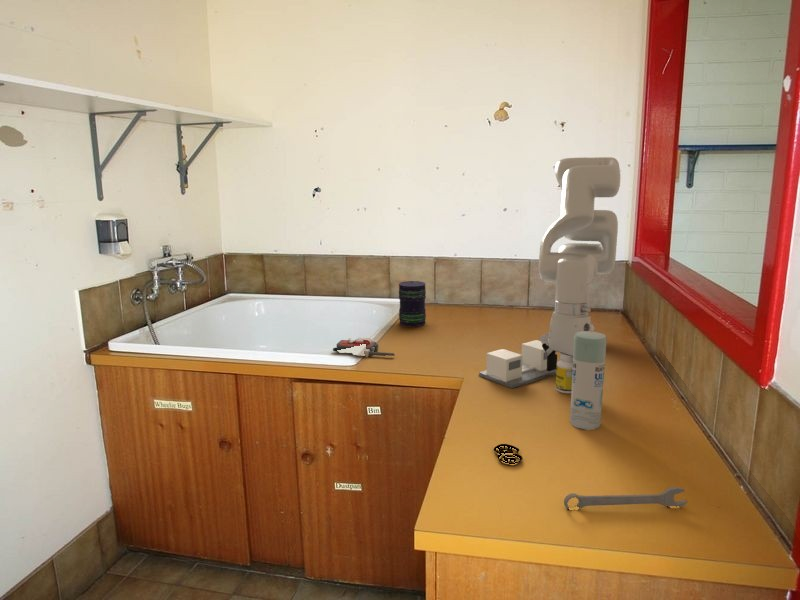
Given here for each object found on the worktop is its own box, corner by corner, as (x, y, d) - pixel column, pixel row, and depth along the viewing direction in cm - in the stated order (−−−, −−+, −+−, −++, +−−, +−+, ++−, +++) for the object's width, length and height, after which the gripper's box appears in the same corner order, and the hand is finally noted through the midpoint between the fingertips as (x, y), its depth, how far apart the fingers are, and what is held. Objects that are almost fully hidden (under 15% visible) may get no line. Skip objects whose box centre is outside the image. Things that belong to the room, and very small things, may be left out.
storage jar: (426, 326, 204) (426, 286, 200) (398, 327, 204) (398, 286, 201) (425, 320, 213) (425, 280, 210) (399, 320, 214) (398, 281, 210)
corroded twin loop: (499, 468, 106) (499, 463, 106) (491, 448, 114) (491, 443, 113) (525, 467, 106) (526, 462, 106) (515, 447, 114) (516, 442, 114)
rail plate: (529, 361, 165) (529, 356, 165) (562, 372, 156) (563, 366, 155) (479, 375, 154) (479, 370, 153) (512, 388, 144) (512, 383, 144)
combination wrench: (565, 494, 91) (691, 490, 91) (563, 490, 92) (687, 486, 92) (564, 515, 92) (689, 511, 91) (562, 510, 93) (685, 506, 93)
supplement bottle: (552, 386, 145) (554, 349, 143) (572, 385, 146) (574, 349, 144) (559, 394, 140) (561, 356, 138) (581, 393, 140) (583, 355, 138)
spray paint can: (596, 432, 119) (602, 341, 115) (565, 426, 122) (570, 336, 118) (603, 421, 124) (610, 333, 120) (574, 415, 128) (578, 329, 124)
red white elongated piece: (330, 356, 173) (393, 360, 169) (329, 342, 172) (393, 346, 168) (339, 347, 182) (400, 351, 177) (339, 334, 181) (400, 337, 176)
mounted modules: (535, 360, 163) (536, 340, 161) (555, 366, 157) (556, 345, 156) (486, 374, 152) (486, 353, 150) (506, 382, 146) (507, 359, 145)
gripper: (611, 312, 133) (606, 381, 137) (552, 300, 147) (549, 363, 151) (591, 317, 129) (587, 388, 133) (532, 304, 143) (530, 369, 146)
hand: (567, 375), depth 142 cm, fingers open, 9 cm apart
